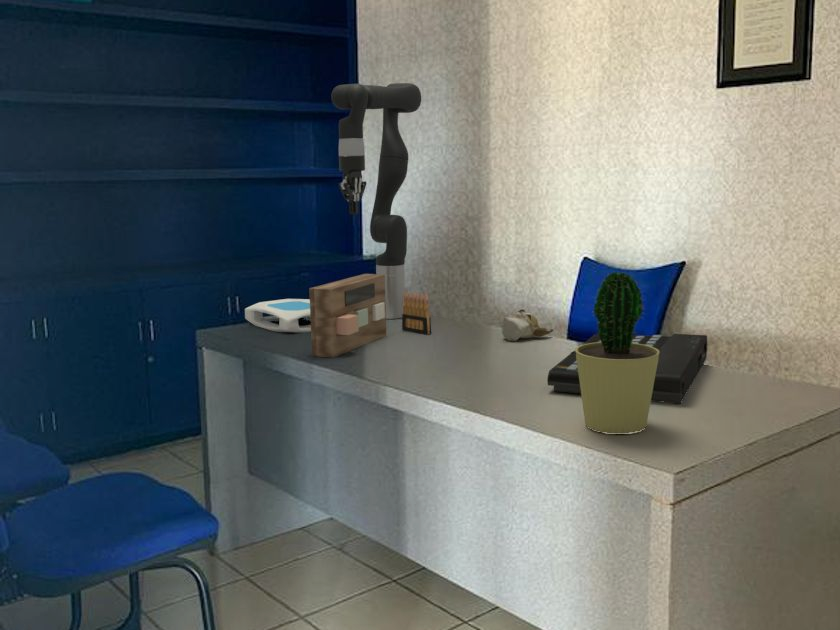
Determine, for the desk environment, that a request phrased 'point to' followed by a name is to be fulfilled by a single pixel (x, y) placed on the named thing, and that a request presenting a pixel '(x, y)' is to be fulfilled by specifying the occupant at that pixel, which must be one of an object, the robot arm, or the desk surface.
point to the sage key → (362, 316)
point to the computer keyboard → (672, 374)
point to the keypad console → (341, 301)
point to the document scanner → (280, 315)
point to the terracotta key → (347, 324)
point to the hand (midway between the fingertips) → (353, 214)
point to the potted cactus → (617, 361)
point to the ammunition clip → (416, 314)
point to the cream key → (378, 311)
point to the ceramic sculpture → (522, 327)
